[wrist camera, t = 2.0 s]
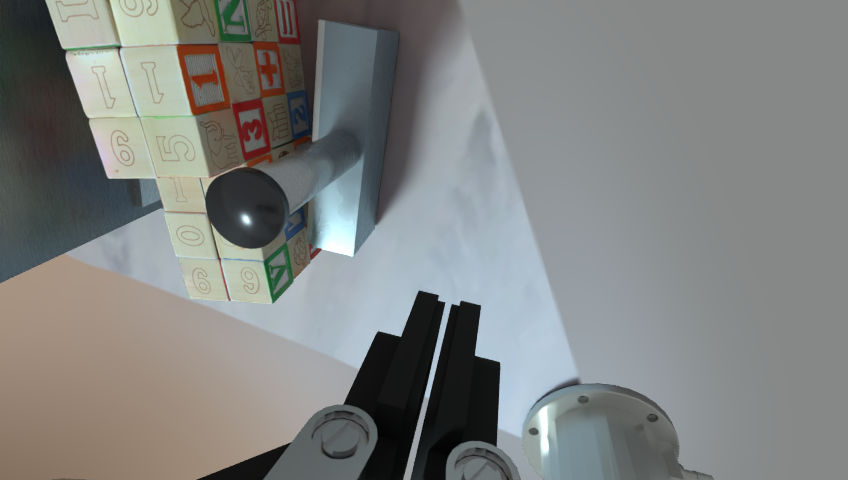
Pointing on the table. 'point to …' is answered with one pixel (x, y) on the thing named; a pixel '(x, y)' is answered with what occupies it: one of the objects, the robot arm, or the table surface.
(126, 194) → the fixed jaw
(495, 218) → the table surface
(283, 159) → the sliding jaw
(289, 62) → the stack of blocks
